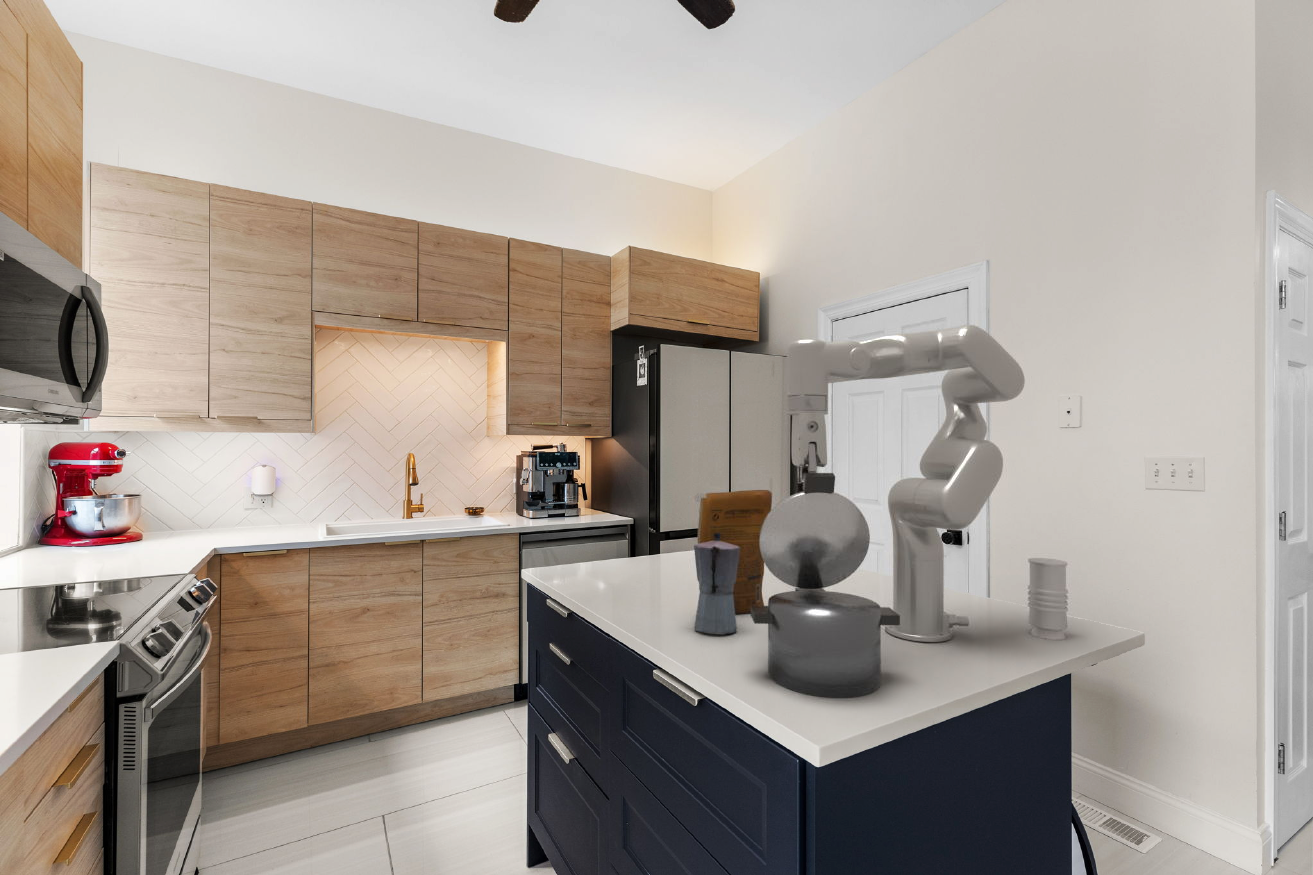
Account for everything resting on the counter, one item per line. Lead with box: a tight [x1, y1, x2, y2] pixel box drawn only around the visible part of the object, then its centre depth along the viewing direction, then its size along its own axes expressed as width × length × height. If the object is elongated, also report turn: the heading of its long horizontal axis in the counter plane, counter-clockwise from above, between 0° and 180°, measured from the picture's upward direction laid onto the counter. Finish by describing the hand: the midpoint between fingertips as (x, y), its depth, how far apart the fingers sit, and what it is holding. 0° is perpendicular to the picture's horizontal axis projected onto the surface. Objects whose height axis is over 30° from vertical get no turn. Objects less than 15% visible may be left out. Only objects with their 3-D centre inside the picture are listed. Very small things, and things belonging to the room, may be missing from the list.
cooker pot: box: [750, 587, 900, 699], centre depth 103 cm, size 23×20×12 cm
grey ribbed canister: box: [1027, 557, 1069, 641], centre depth 125 cm, size 7×7×15 cm
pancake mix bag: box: [696, 489, 773, 615], centre depth 141 cm, size 7×19×28 cm, turn 107°
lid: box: [759, 472, 871, 589], centre depth 110 cm, size 22×19×4 cm
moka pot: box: [693, 533, 740, 635], centre depth 127 cm, size 10×15×20 cm, turn 174°
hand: (806, 504), depth 115 cm, fingers closed
